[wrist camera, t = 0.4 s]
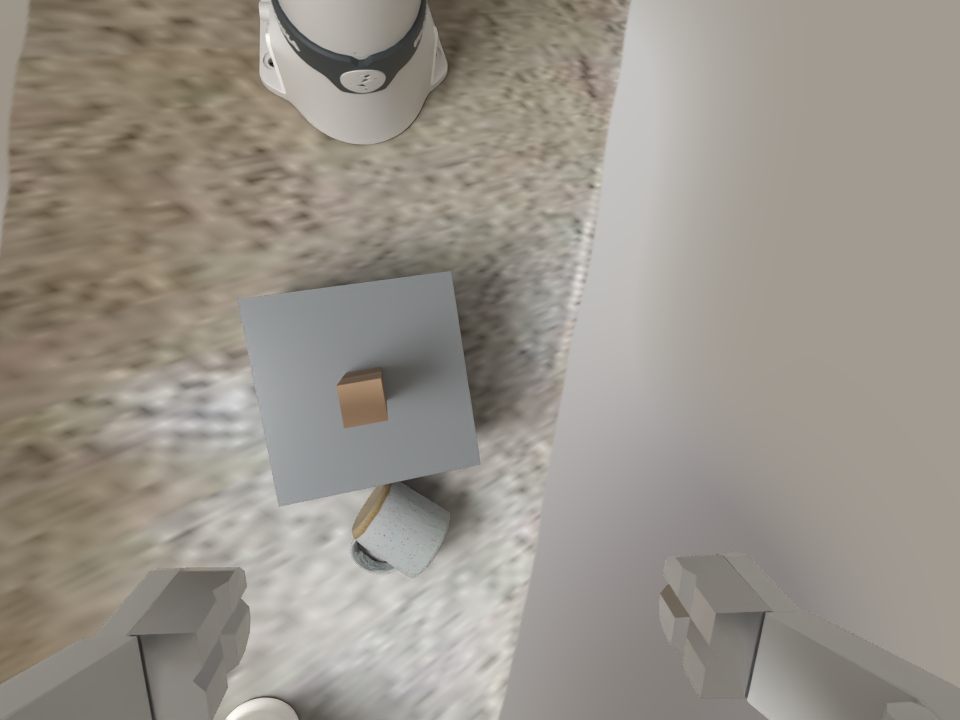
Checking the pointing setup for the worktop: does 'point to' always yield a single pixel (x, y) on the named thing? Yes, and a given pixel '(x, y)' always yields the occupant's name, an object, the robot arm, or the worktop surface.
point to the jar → (263, 710)
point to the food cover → (360, 384)
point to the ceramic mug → (399, 530)
